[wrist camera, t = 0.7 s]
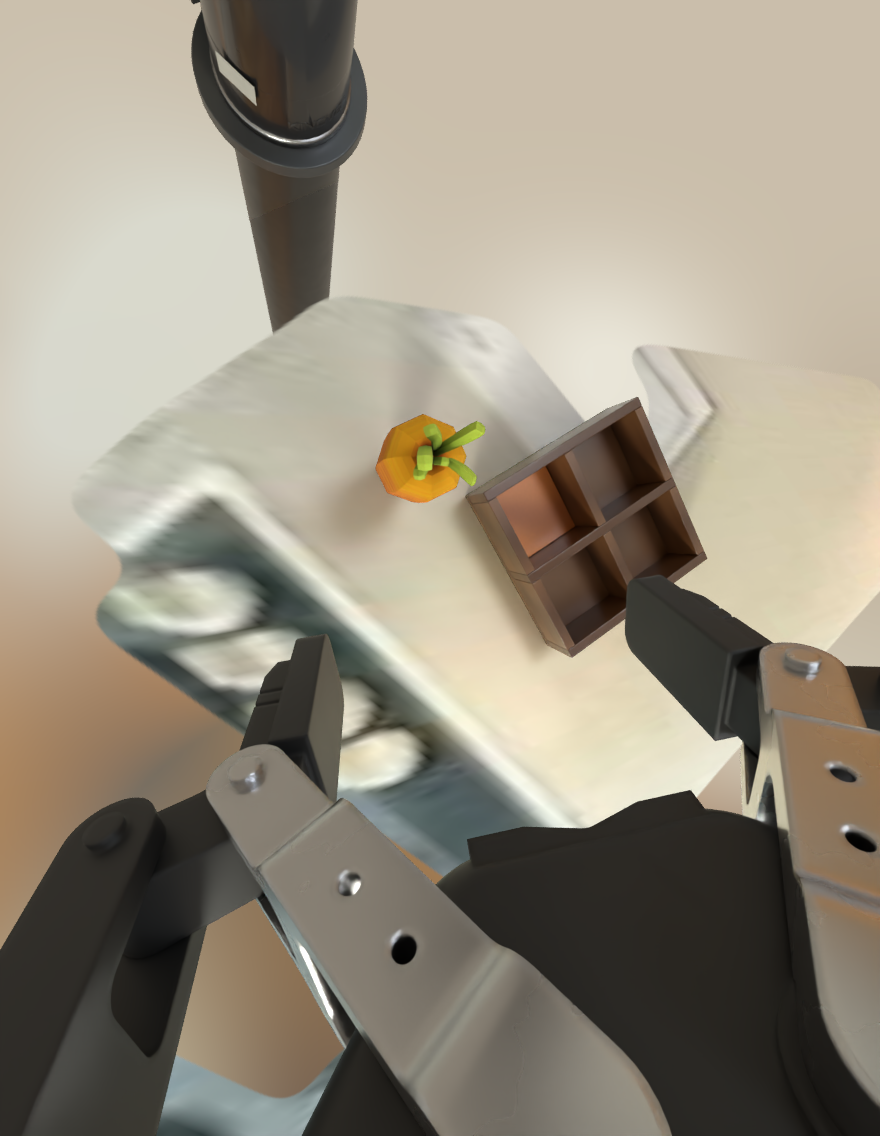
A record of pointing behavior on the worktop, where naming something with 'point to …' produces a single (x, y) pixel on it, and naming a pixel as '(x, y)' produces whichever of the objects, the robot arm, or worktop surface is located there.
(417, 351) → the worktop surface
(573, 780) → the worktop surface
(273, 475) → the worktop surface
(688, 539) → the grid
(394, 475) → the carrot
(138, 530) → the worktop surface
